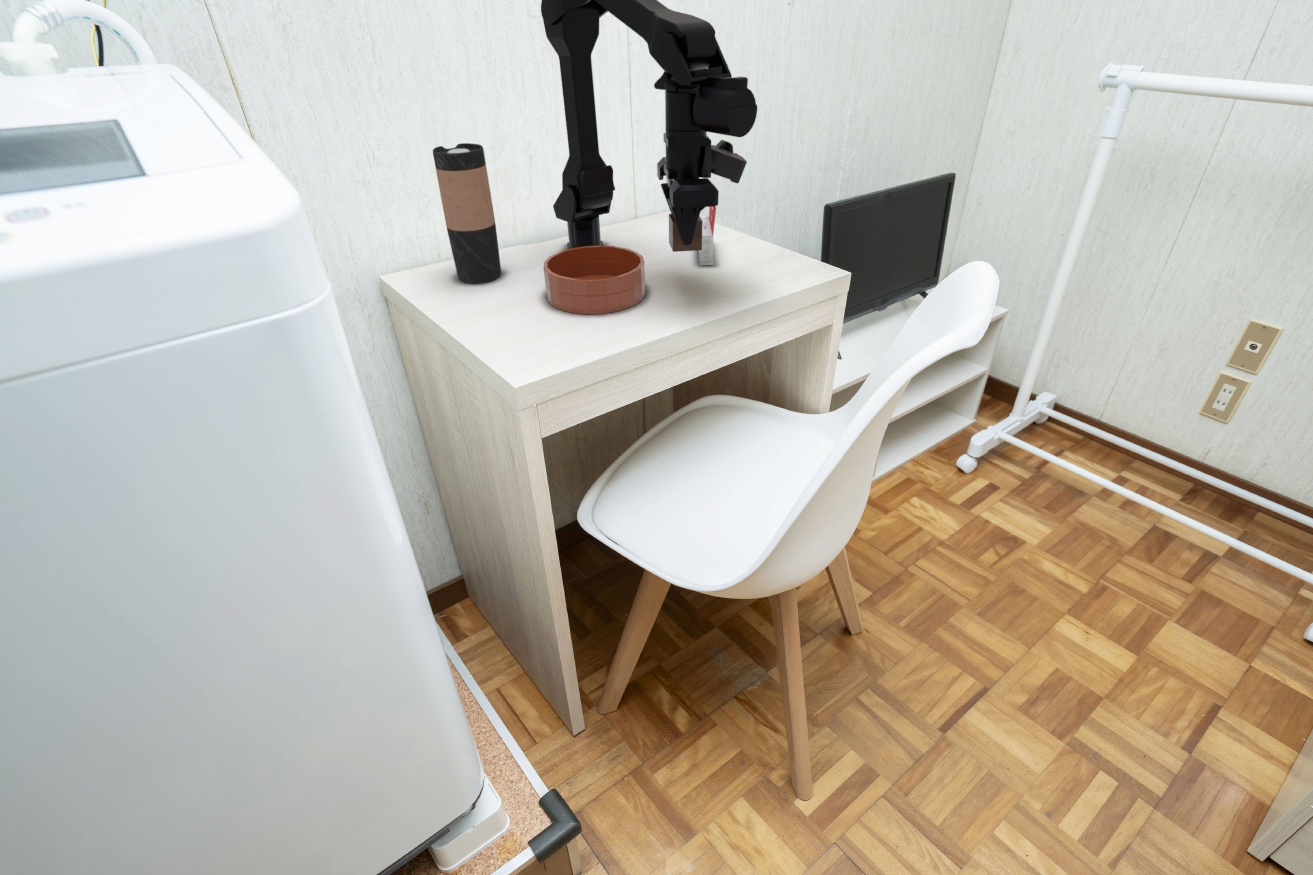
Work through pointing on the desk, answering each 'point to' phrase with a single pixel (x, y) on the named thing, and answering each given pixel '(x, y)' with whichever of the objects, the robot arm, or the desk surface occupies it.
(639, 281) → the bowl
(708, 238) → the ink cartridge box
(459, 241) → the travel mug
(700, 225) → the block
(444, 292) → the desk surface
